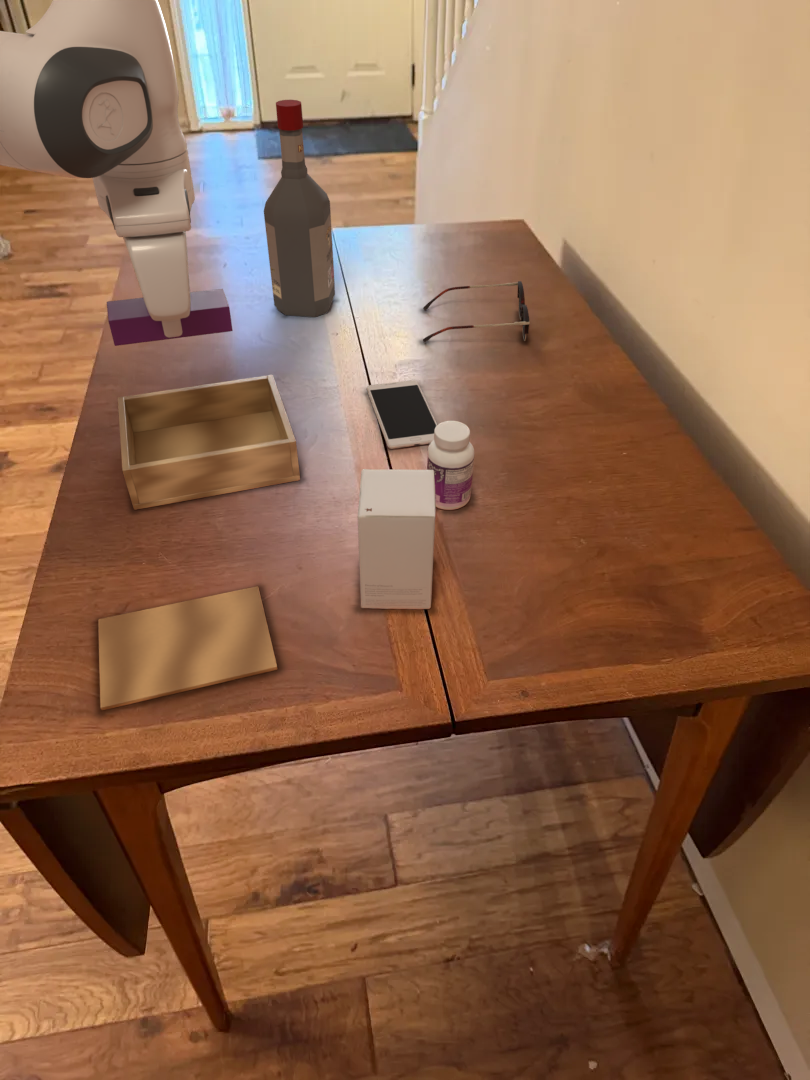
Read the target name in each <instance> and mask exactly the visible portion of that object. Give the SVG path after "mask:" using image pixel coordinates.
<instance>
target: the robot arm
mask: <svg viewBox="0 0 810 1080" xmlns="http://www.w3.org/2000/svg"><path fill="white" fill-rule="evenodd" d="M170 41H171V40H170V37H169V33H168V29H167V25H166V21H165V19H164V15H163V12H162V9H161V6H160V3H159V1H158V0H52V1H51V3H50V5H49V6H48V8H47V9H46V11H45V13H43V15H42V16H41V17H40V18H39V20H38V21H37V22H36V23H35V24H34V25H33V26H31V27H30V28H28V29H27V30H25V33H18V32H12V31H5V30H0V166H2V167H8V168H12V169H13V168H14V169H18V170H24V171H29V172H33V173H40V174H41V173H42V174H46V175H47V174H48V175H52V176H57V177H64V178H67V179H92V183H93V188H94V192H95V196H96V200H97V202H98V207H99V208H100V210H101V211H103V212H105V214H106V216H107V217H108V218H109V219H110V222H111V223H112V226H113V230H114V231H115V233H116V236H117V237H119V238H122V239H123V242H124V245H125V246H126V251H127V253H128V257H129V260H130V263H131V265H132V268H133V272H134V274H135V277H136V280H137V283H138V287H139V290H140V293H141V295H142V298H143V299H144V302H145V304H146V307H147V310H148V312H149V314H150V316H151V318H152V319H153V320H155V321H162V325H163V330H164V334H165V336H166V337H169V338H170V337H178V336H181V335H182V326H181V321H180V319H181V318H186V317H188V316H189V314H190V307H191V298H190V292H191V282H190V281H191V280H190V269H189V254H188V241H187V232H189V231H191V230H192V219H191V211H192V207H193V204H194V202H195V201H196V195H195V189H194V183H193V182H194V181H193V175H192V171H191V170H192V169H191V164H190V157H189V149H188V144H187V140H186V138H185V135H184V132H183V130H182V128H181V125H180V121H179V111H178V110H179V109H178V108H179V101H180V95H179V94H180V93H179V85H178V79H177V73H176V66H175V61H174V56H173V51H172V47H171V42H170Z"/></svg>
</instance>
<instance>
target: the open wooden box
mask: <svg viewBox="0 0 810 1080" xmlns="http://www.w3.org/2000/svg"><path fill="white" fill-rule="evenodd" d="M117 411H118V412H117V413H118V427H119V443H120V458H121V470H122V474H123V478H124V481H125V484H126V488H127V491H128V495H129V498H130V500H131V501H130V502H131V504H132V507H133V510H134V511H136V510H142V509H148V508H153V507H159V506H164V505H170V504H175V503H181V502H187V501H191V500H198V499H202V498H203V499H204V498H208V497H215V496H219V495H225V494H226V495H227V494H230V493H236V492H242V491H248V490H253V489H259V488H265V487H270V486H275V485H281V484H286V483H291V482H297V481H300V480H301V476H300V473H301V472H300V466H299V465H300V464H299V455H298V446H297V440H296V437H295V434H294V431H293V429H292V426H291V423H290V420H289V417H288V415H287V411H286V409H285V406H284V403H283V400H282V397H281V394H280V392H279V388H278V385H277V383H276V380H275V377H274V374H267V375H261V376H253V377H247V378H246V377H245V378H240V379H233V380H227V381H219V382H213V383H206V384H200V385H193V386H186V387H179V388H173V389H172V388H171V389H166V390H159V391H153V392H145V393H138V394H133V395H125V396H120V397H118V396H117Z"/></svg>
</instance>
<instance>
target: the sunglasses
mask: <svg viewBox="0 0 810 1080" xmlns="http://www.w3.org/2000/svg"><path fill="white" fill-rule="evenodd" d="M514 286H515V287H516V286H517V296H516V297H517V299H518V316H519V320H520V321H514V322H507V323H490V324H475V325H473V324H469V325H455V326H447V327H445V328H442V329H440V330H438V331H436V332H433V333H431V334H429V335H426V336H425V337H424V338H422V342H423V343H427V342H428V341H430V340H431V339H432V338H433V337H436V336H437V335H440V334H442V333H444V332H446V331H450V330H463V329H464V330H465V329H476V328H491V327H492V328H494V327H505V326H522V337H523V341H524V342H526V341H527V335H529V332H530V331H529V330H530V324H531V322H530V314H529V309H528V306H527V304H526V299H525V289H524V285H523V282H522V281H521V280H518V281H517V282H516V281H515V282H507V283H506V282H505V283H497V284H496V283H493V284H480V285H479V284H478V285H461V286H453V287H449V288H446V289H444V290H442V291H440V293H438V294H437V295H436V296H435V297H433V298H432V299H431V300H430V301H428V302H427V303H426V304H425V305H424V306H423V307H422V309H423V310H424V311H425V312H426V311H427V310H428V309H429V308H430V307H431V305H432V304H433V303H434V302H435V301H437V300H438V299H439V298H440V297H442V296H443V295H444V294H446V293H448V292H450V291H455V290H466V289H479V288H493V287H494V288H495V287H514Z"/></svg>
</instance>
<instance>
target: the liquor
mask: <svg viewBox="0 0 810 1080" xmlns="http://www.w3.org/2000/svg"><path fill="white" fill-rule="evenodd" d="M275 110H276V120H277V121H276V122H277V129H278V130H279V144H280V153H281V170H280V175H281V177H280V178H279V181H278V182H277V183H276V185H275V187H274V189H273V190H272V192H271V193H270V194H269V196H268V198H267V199H266V201H265V203H264V208H263V219H264V226H265V227H264V228H265V235H266V244H267V254H268V261H269V271H270V278H271V279H270V280H271V288H272V298H273V305H274V307H275V308H276V310H277V311H279V312H280V313H282V314H283V315H284V316H288V317H303V318H305V317H306V318H316V317H319V316H323V315H325V314H328V313H329V310H330V308H331V305H332V304H333V300H334V298H335V295H336V286H335V285H336V284H335V283H336V282H335V267H334V249H333V248H334V247H333V233H332V213H331V201H330V198H329V196H328V193H327V192H326V191H325V190H324V189H323V188H322V187H321V186H320V185H319V184H318V183H317V181H316V180H315V179H314V178H313V177H311V176H310V174H308V167H307V165H306V159H305V147H304V134H303V128H304V121H303V119H304V118H303V117H304V116H303V107H302V101H300V100H298V99H282V100H278V101H276V102H275Z"/></svg>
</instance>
